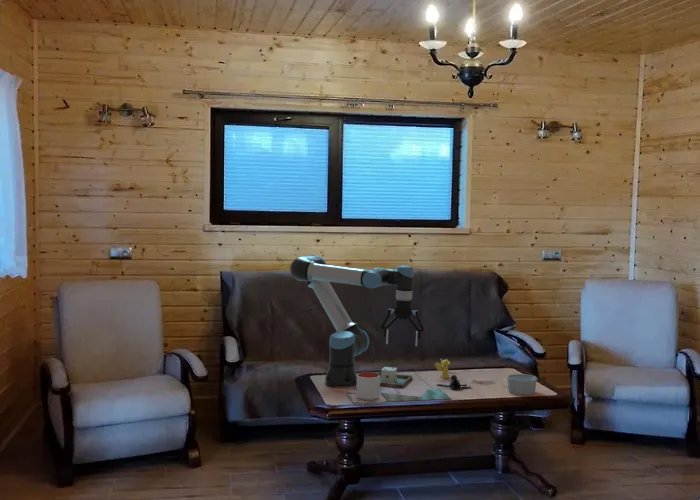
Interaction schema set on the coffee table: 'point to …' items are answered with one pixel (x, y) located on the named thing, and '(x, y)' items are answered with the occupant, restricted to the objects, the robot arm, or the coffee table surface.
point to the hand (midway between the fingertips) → (401, 344)
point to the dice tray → (400, 383)
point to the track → (408, 397)
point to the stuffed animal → (454, 384)
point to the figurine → (444, 368)
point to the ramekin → (521, 384)
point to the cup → (368, 386)
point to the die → (389, 375)
